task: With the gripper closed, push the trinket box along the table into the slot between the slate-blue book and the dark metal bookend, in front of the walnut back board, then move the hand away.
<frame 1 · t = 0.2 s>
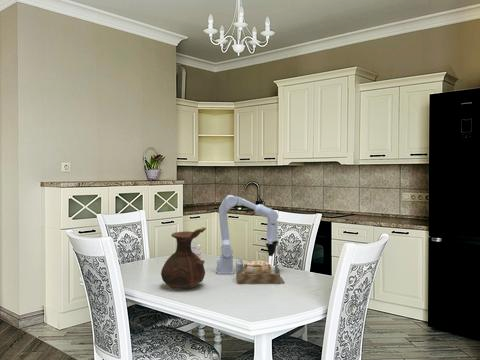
hand: (271, 254, 258), 10 cm above the table, tool pointing down, fingers open, 7 cm apart
bookend: (277, 280, 238), on the table
shelf: (257, 280, 238), on the table
ink box: (193, 264, 280), on the table
trinket box: (257, 275, 251), on the table
jug: (183, 286, 225), on the table
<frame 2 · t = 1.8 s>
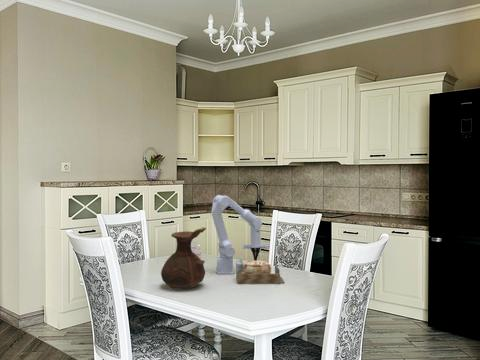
hand: (255, 260, 264), 5 cm above the table, tool pointing down, fingers closed
nothing on the table moved.
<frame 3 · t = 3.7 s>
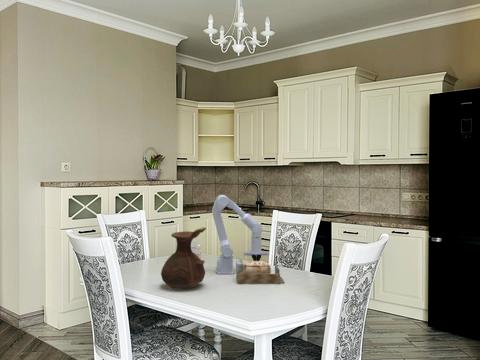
hand: (256, 268, 258), 2 cm above the table, tool pointing down, fingers closed
trinket box: (256, 275, 250), on the table
everything else where it was.
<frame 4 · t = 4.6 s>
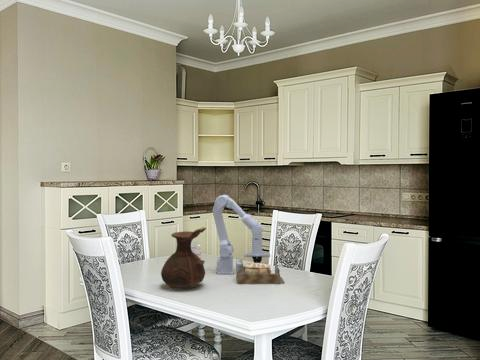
hand: (257, 270, 253), 2 cm above the table, tool pointing down, fingers closed
trinket box: (256, 277, 245), on the table, touching gripper
everything else where it was.
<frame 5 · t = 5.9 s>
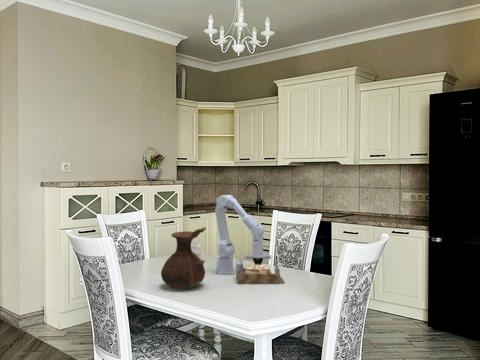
hand: (257, 271, 248), 2 cm above the table, tool pointing down, fingers closed
trinket box: (256, 280, 240), on the table
everything else where it was.
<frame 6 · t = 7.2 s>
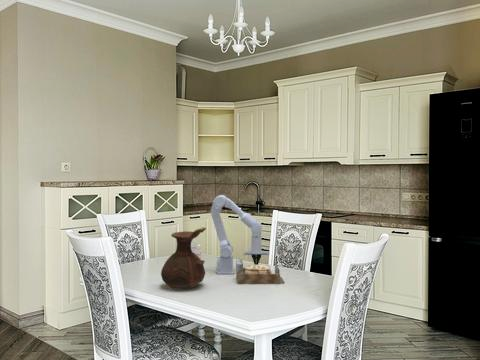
hand: (256, 267, 254), 3 cm above the table, tool pointing down, fingers closed
trinket box: (256, 280, 240), on the table, touching shelf
everything else where it was.
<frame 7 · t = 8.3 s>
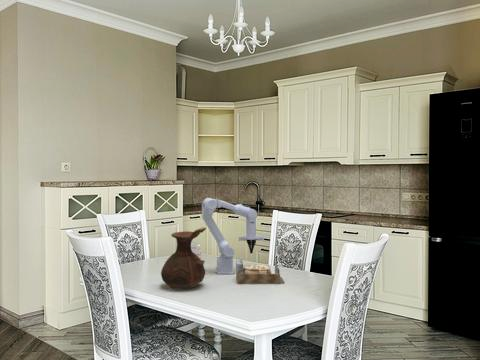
hand: (251, 253, 260), 10 cm above the table, tool pointing down, fingers closed
trinket box: (256, 279, 240), on the table
everything else where it was.
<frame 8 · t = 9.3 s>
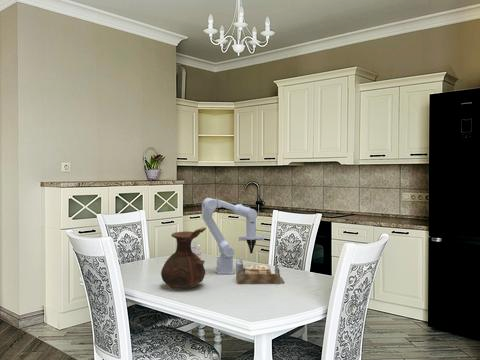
hand: (251, 253, 260), 10 cm above the table, tool pointing down, fingers closed
trinket box: (256, 280, 240), on the table, touching shelf
everything else where it was.
at the end: trinket box inside the target area (1.4 cm from its centre), on the table; trinket box tilted 0°; trinket box moved 11.1 cm from its start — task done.
